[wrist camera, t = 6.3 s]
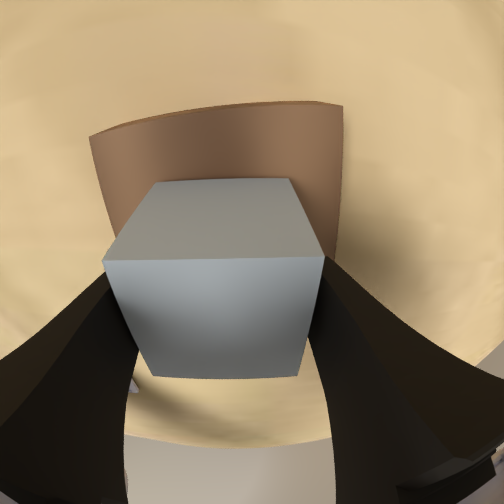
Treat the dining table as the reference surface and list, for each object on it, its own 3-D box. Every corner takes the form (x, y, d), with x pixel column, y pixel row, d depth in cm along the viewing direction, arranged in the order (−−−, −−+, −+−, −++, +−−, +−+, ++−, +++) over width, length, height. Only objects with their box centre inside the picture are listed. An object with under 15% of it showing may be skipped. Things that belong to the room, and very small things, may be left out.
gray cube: (173, 283, 13) (153, 375, 8) (155, 182, 10) (101, 260, 6) (280, 282, 13) (297, 375, 9) (288, 178, 10) (324, 256, 6)
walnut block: (161, 274, 18) (147, 318, 14) (123, 123, 12) (88, 137, 9) (311, 261, 18) (328, 303, 14) (314, 101, 12) (342, 106, 9)
